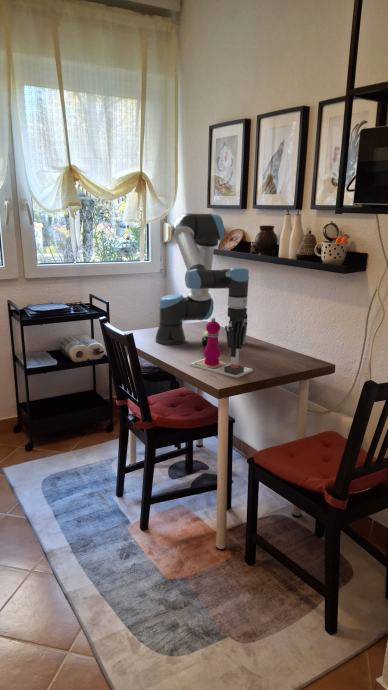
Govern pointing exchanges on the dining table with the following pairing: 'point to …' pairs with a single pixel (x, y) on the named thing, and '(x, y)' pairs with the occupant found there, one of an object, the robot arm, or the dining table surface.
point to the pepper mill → (212, 343)
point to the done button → (234, 366)
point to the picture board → (222, 368)
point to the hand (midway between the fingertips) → (234, 363)
